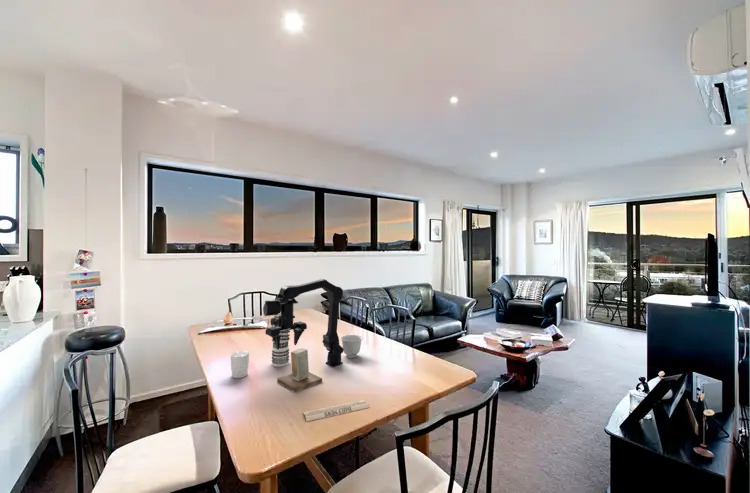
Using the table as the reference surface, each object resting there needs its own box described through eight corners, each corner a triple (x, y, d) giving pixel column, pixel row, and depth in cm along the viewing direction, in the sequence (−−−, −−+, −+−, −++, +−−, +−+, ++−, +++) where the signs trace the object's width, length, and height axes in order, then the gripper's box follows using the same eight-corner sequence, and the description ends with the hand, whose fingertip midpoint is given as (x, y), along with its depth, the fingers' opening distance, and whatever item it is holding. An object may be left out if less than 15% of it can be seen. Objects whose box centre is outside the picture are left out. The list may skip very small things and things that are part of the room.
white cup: (229, 379, 144) (229, 357, 144) (231, 372, 152) (232, 351, 152) (247, 377, 146) (248, 355, 146) (249, 371, 154) (250, 350, 154)
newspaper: (362, 402, 126) (362, 398, 126) (370, 411, 120) (370, 406, 120) (302, 415, 116) (302, 410, 116) (307, 425, 109) (307, 420, 109)
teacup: (364, 351, 185) (364, 334, 185) (360, 360, 170) (361, 341, 170) (343, 350, 186) (343, 333, 186) (338, 359, 171) (338, 340, 171)
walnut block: (303, 374, 152) (304, 369, 152) (322, 383, 143) (322, 378, 143) (277, 384, 142) (277, 378, 142) (294, 394, 133) (294, 388, 133)
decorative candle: (266, 364, 163) (267, 315, 162) (280, 359, 171) (280, 311, 171) (280, 368, 158) (281, 317, 158) (293, 362, 166) (294, 313, 166)
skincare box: (303, 374, 146) (302, 347, 146) (309, 376, 143) (308, 349, 143) (291, 379, 141) (290, 351, 141) (297, 381, 138) (296, 353, 138)
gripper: (294, 308, 162) (294, 339, 162) (259, 313, 148) (259, 347, 148) (307, 311, 155) (307, 344, 155) (272, 317, 141) (271, 353, 141)
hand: (286, 347), depth 150 cm, fingers open, 9 cm apart
